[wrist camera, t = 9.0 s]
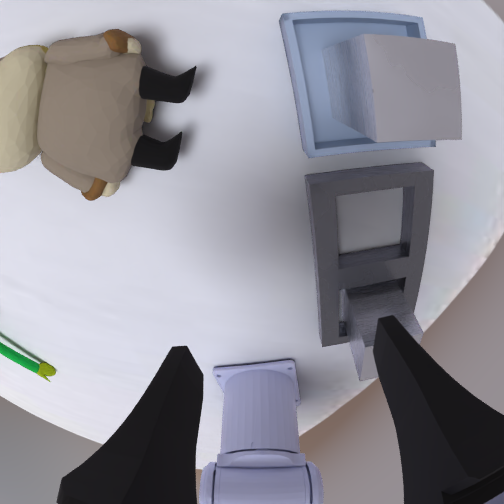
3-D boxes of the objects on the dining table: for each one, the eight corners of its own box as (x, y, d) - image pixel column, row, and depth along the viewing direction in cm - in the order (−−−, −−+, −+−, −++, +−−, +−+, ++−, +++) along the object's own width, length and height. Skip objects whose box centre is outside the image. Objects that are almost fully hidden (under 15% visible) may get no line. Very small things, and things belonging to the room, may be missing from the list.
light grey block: (395, 114, 14) (461, 139, 9) (332, 118, 15) (377, 142, 9) (388, 49, 12) (455, 43, 7) (321, 50, 13) (363, 33, 7)
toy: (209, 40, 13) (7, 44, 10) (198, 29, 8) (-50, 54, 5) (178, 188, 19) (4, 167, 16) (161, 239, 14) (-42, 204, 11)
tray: (420, 139, 15) (435, 146, 14) (302, 149, 16) (308, 158, 15) (406, 21, 11) (422, 17, 10) (279, 21, 12) (282, 13, 10)
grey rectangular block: (385, 307, 23) (411, 368, 18) (341, 316, 23) (359, 381, 18) (390, 271, 21) (423, 333, 15) (342, 280, 21) (365, 347, 16)
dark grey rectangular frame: (403, 315, 24) (409, 328, 22) (319, 333, 24) (322, 347, 23) (421, 162, 16) (433, 170, 15) (304, 175, 17) (309, 184, 16)
